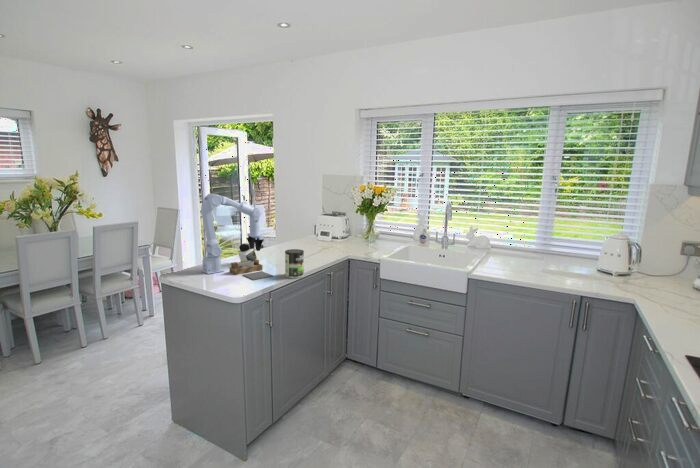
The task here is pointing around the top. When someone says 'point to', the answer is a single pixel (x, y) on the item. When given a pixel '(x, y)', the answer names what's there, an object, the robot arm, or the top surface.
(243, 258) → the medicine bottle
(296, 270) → the coffee can
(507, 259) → the top surface
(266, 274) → the gray switch plate
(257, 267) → the board with knob
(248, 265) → the lever cap
